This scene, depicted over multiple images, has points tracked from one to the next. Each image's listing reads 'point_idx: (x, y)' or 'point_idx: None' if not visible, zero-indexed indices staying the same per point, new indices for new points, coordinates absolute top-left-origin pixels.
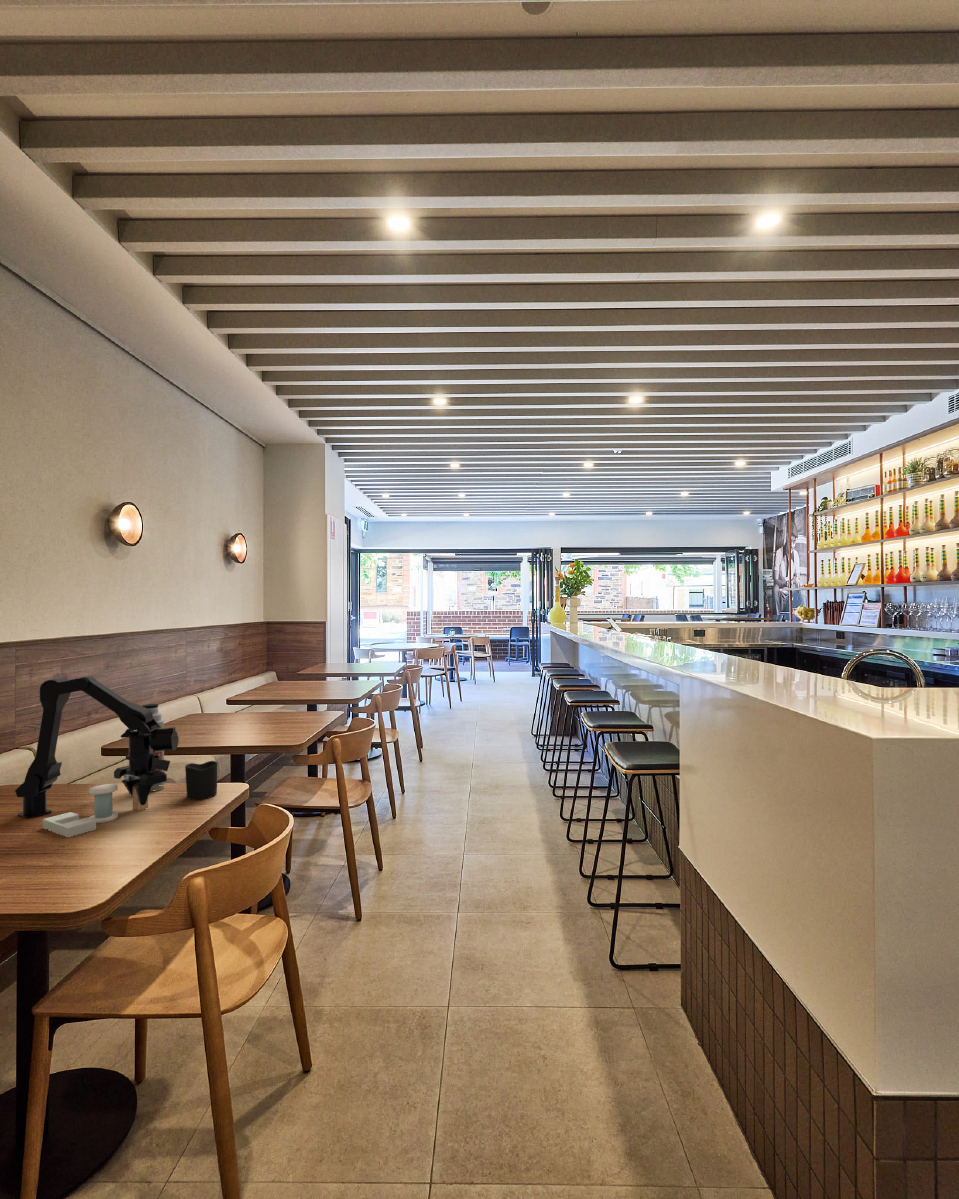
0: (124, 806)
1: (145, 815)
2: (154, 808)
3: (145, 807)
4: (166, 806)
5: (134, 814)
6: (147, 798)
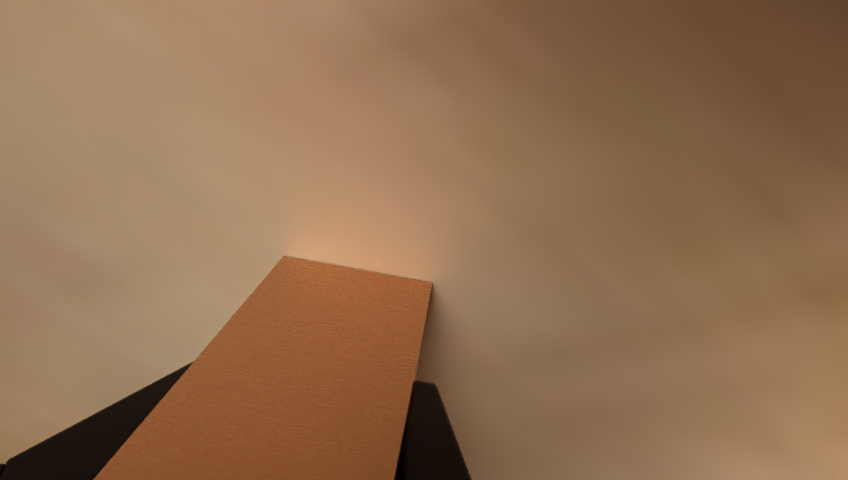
0: (47, 308)
1: (647, 471)
2: (520, 246)
3: (423, 332)
4: (647, 94)
5: (475, 473)
6: (406, 400)
